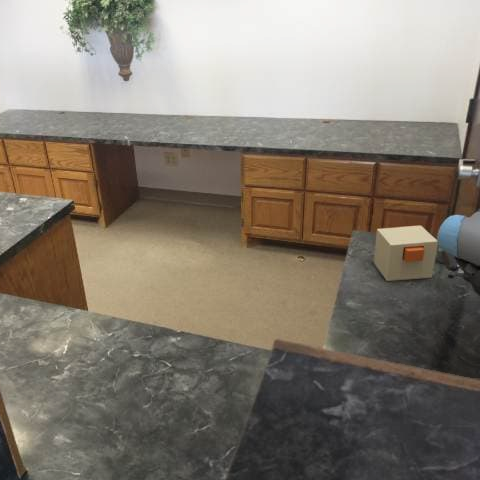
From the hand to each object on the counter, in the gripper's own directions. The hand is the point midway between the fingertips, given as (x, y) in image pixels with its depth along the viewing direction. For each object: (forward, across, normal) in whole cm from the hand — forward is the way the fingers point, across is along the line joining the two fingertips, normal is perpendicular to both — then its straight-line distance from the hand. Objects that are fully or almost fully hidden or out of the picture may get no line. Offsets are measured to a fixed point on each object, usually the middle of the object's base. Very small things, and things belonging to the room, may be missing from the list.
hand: (442, 235), depth 118 cm
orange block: (+12, 0, -13) cm, 18 cm away
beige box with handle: (+18, 0, -20) cm, 26 cm away
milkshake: (+21, +13, -20) cm, 31 cm away
